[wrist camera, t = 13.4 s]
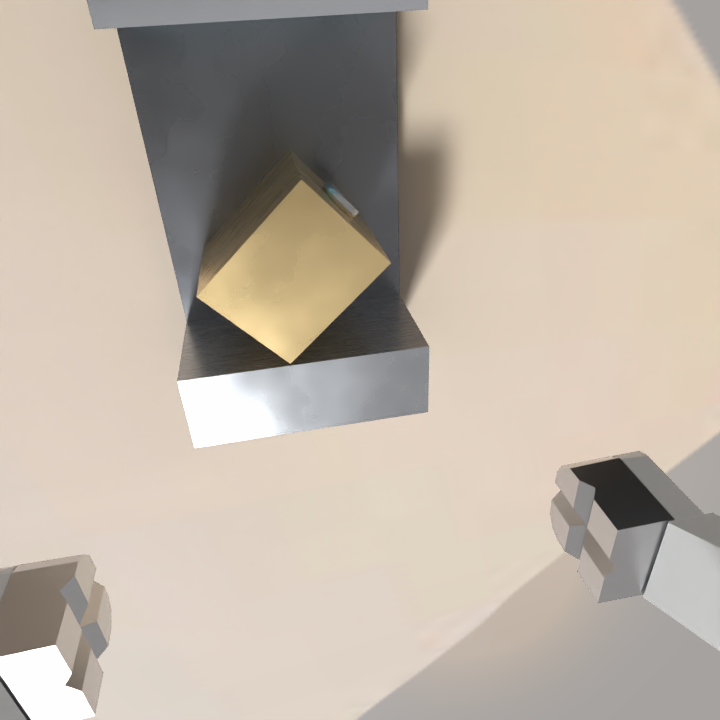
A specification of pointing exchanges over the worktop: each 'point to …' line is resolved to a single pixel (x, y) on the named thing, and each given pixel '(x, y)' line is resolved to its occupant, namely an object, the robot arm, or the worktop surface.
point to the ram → (230, 10)
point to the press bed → (244, 173)
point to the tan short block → (289, 259)
